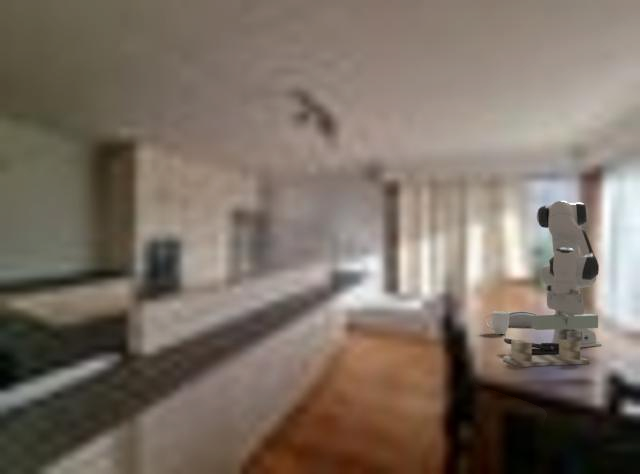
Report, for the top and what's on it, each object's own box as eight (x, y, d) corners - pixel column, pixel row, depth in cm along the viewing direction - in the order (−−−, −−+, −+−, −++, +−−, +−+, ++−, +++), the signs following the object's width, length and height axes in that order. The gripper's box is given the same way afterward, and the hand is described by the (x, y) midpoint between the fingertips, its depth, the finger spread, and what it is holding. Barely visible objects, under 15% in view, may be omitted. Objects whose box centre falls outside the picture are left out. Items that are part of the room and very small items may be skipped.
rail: (591, 326, 231) (591, 313, 231) (598, 327, 227) (598, 315, 227) (531, 328, 227) (531, 315, 227) (536, 329, 223) (537, 317, 223)
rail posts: (572, 357, 250) (572, 327, 250) (589, 363, 238) (589, 332, 238) (503, 360, 245) (503, 330, 245) (517, 366, 233) (517, 335, 233)
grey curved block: (536, 325, 332) (537, 310, 329) (537, 329, 328) (538, 314, 324) (506, 324, 336) (507, 309, 332) (507, 328, 331) (507, 313, 328)
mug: (509, 333, 308) (509, 311, 308) (508, 336, 300) (508, 313, 300) (487, 331, 313) (487, 310, 312) (485, 335, 304) (485, 312, 304)
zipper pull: (502, 337, 261) (559, 339, 258) (502, 352, 261) (559, 353, 258) (506, 341, 252) (565, 342, 249) (506, 356, 253) (565, 358, 249)
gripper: (588, 291, 217) (588, 327, 217) (557, 285, 237) (557, 318, 238) (573, 291, 216) (573, 327, 216) (543, 286, 236) (543, 319, 237)
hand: (565, 323), depth 227 cm, fingers closed on rail, 4 cm apart
